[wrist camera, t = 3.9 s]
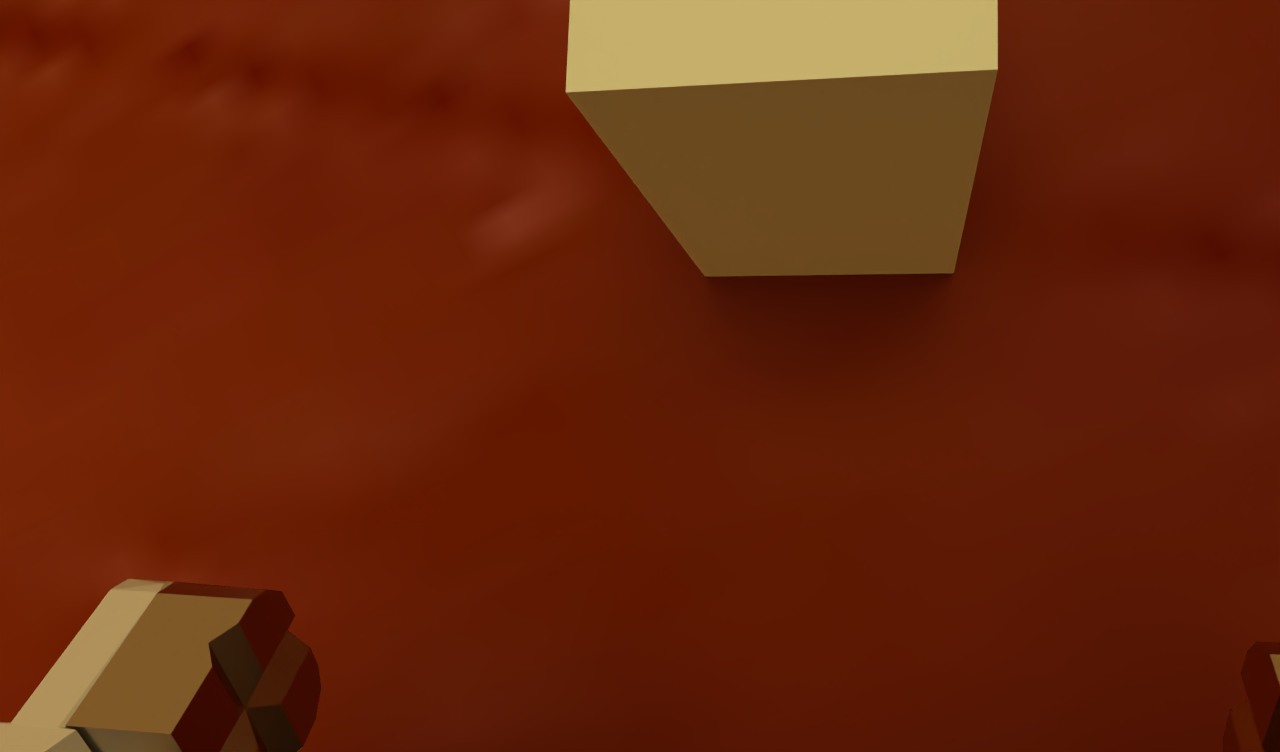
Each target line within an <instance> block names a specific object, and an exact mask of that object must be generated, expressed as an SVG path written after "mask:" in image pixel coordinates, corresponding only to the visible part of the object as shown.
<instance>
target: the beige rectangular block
mask: <svg viewBox="0 0 1280 752" xmlns="http://www.w3.org/2000/svg"><path fill="white" fill-rule="evenodd" d="M997 70H998V14H997V0H570V17H569V37H568V58H567V78H566V93H567V95H568V96H569V97H570V99H571V100H572V101H573V103H574V104H575V105H576V107H577V108H578V109H579V111H580V112H581V113H582V115H583V116H584V117H585V119H586V120H587V121H588V122H589V124H590V125H591V126H592V128H593V129H594V130H595V132H596V133H597V134H598V136H599V137H600V138H601V140H602V141H603V142H604V144H605V145H606V146H607V148H608V149H609V150H610V152H611V153H612V154H613V156H614V157H615V158H616V160H617V161H618V162H619V164H620V165H621V166H622V167H623V169H624V170H625V171H626V173H627V174H628V175H629V177H630V178H631V179H632V181H633V182H634V183H635V185H636V186H637V187H638V189H639V190H640V191H641V193H642V194H643V195H644V197H645V198H646V199H647V201H648V202H649V203H650V205H651V206H652V207H653V209H654V210H655V211H656V213H657V214H658V215H659V216H660V218H661V219H662V220H663V222H664V223H665V224H666V226H667V227H668V228H669V230H670V231H671V232H672V234H673V235H674V236H675V238H676V239H677V240H678V242H679V243H680V244H681V246H682V247H683V248H684V250H685V251H686V252H687V254H688V255H689V256H690V258H691V259H692V260H693V261H694V263H695V264H696V265H697V267H698V268H699V269H700V271H701V272H702V273H703V275H704V276H705V277H708V276H784V275H859V274H935V273H954V270H955V265H956V260H957V256H958V251H959V246H960V242H961V237H962V233H963V228H964V223H965V219H966V214H967V209H968V205H969V200H970V195H971V191H972V186H973V182H974V177H975V172H976V168H977V163H978V158H979V154H980V149H981V145H982V140H983V135H984V131H985V126H986V121H987V117H988V112H989V107H990V103H991V98H992V94H993V89H994V84H995V80H996V75H997Z"/></svg>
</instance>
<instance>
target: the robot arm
mask: <svg viewBox="0 0 1280 752" xmlns="http://www.w3.org/2000/svg"><path fill="white" fill-rule="evenodd" d="M294 617H295V614H294V613H293V611H292V609H291V607H290V605H289V603H288V602H287V600H286V598H285V596H284V594H283V592H282V591H274V590H267V589H255V588H243V587H231V586H219V585H207V584H195V583H183V582H167V581H153V580H138V579H128V580H126V581H124V582H122V583H121V584H119V585H117V586H116V587H114V588H112V589H111V590H110V591H109V592H108V594H107V595H106V596H105V598H104V599H103V600H102V602H101V603H100V604H99V606H98V607H97V608H96V610H95V611H94V612H93V614H92V615H91V616H90V618H89V619H88V620H87V622H86V623H85V624H84V626H83V627H82V628H81V630H80V631H79V632H78V634H77V635H76V636H75V638H74V639H73V640H72V642H71V643H70V644H69V646H68V647H67V648H66V650H65V651H64V652H63V654H62V655H61V656H60V658H59V659H58V660H57V662H56V663H55V664H54V666H53V667H52V668H51V670H50V671H49V673H48V674H47V675H46V677H45V678H44V679H43V681H42V682H41V683H40V685H39V686H38V687H37V689H36V690H35V691H34V693H33V694H32V695H31V697H30V698H29V699H28V701H27V702H26V703H25V705H24V706H23V707H22V709H21V710H20V711H19V713H18V714H17V715H16V717H15V718H14V719H13V721H12V722H11V723H5V722H0V752H297V751H298V750H300V749H301V748H302V747H303V745H304V743H305V741H306V739H307V737H308V735H309V732H310V730H311V728H312V726H313V724H314V722H315V719H316V714H317V708H318V703H319V697H320V691H321V683H320V676H319V668H318V664H317V662H316V659H315V657H314V655H313V653H312V650H311V648H310V647H309V646H308V645H306V644H305V643H304V642H302V641H301V640H300V639H298V638H297V637H296V636H295V635H293V634H292V633H291V632H289V631H288V629H289V627H290V625H291V623H292V621H293V619H294ZM1241 675H1242V679H1243V683H1244V686H1245V690H1246V693H1247V697H1248V699H1246V700H1245V701H1243V702H1242V703H1240V704H1238V705H1237V706H1235V707H1234V708H1232V709H1230V712H1229V716H1228V720H1227V724H1226V728H1225V732H1224V737H1223V752H1280V643H1275V642H1256V643H1255V644H1254V645H1253V646H1252V647H1251V648H1250V649H1249V650H1248V652H1247V655H1246V658H1245V661H1244V664H1243V667H1242V671H1241Z"/></svg>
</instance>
